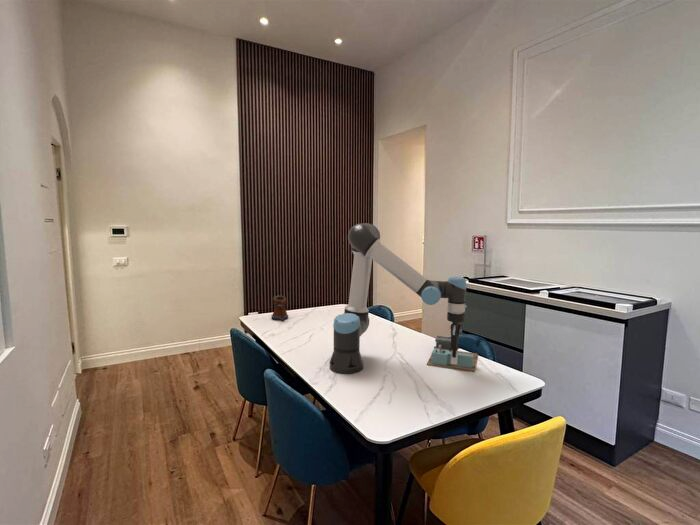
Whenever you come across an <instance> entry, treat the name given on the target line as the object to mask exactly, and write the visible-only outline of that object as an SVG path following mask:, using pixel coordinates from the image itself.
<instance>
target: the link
mask: <svg viewBox="0 0 700 525" xmlns="http://www.w3.org/2000/svg"><path fill="white" fill-rule="evenodd" d="M431 355H432V358H431V363H432V364H439V365H446V366H447V364H449V365H456V366H463V367H470V368H472V367H473V354H465V353H458V360H457V364H451V352H450V351H449V350H444V349H442V353H437V349H436V348H434V347H433V350H432V352H431Z"/></svg>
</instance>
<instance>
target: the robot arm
mask: <svg viewBox="0 0 700 525" xmlns="http://www.w3.org/2000/svg"><path fill="white" fill-rule="evenodd" d="M347 240H348V243H349V245H350V246H351V253H352V254H353V264H352V269H351V270H352V271H351V280H350V287H349V288H350V290H349V296H348V304H346V305H345V306H344V312H343V313H342V314H338V315H336V316H335V317H334V319H333V324H332V325H333V326H332V327H333V351H332V355H331V358H330V360H329V369H330V371H332V372H333V373H334V372H335V373H338V374H346V375H347V374H356V373H359V372H361V371H363V369H364V361H363V357H362V355H361V350H360V340H361V339H360V338H361V336H362V335H363V334H364V333H366V332H367V330H368V329H369V326H370V318H369V317H370V316H369V312H370V309H369V308H368V307H367V305H368V304H367V303H368V295H369V288H370V287H369V286H370V280H371V271H372V264H373V261H374V262H375V263H377V264H378V265H379V266H381V267H382V268H383V269H385V270H386V271H387V272H389V274H391V275H392V276H393V277H394V278H396V279H397V280H398V281H399V282H401V283H402V284H404V285H405V286H406V287H407V288H409V289H410V290H411V291H412V292H414V293H415V294H417V296H419V297H420V298H421V300H422V301H423V302H424V303H425V304H426V305H429V306H433V305H436V304H438V302H439V301H440V300H441V299H447V307H446V308H447V312H446V313H447V314H446V319H447V321H448V322H451V324H450V327H449V328H450V337H451V348H450V350H451V364H457V360H458V351H459V350H460V347H459V343H460V342H459V341H460V340H459V339H460V334H461V333H460V332H461V331H460V330H461V324H460V323H464V322H465V321H466V320H465V319H466V317H465V316H466V313H465V312H466V308H467V306H468V305H467V304H466V300H467V298H466V297H467V296H466V294H467V280H466V278H464V277H461V276H450V277H448V280H446V281H445V280H443V281H442V280H430V279H428V278H426V277H425V276H424V275H422V274H421V273H420V272H418V271H417V270H416V269H415V268H413V267H412V266H411V265H409V264H408V263H407V262H406V261H404V260H403V259H402V258H400V257H399V256H398V255H397V254H395V253H394V252H392V250H391V249H389V248H388V247H386V245H383V244H382V243H381V233H380V230H379V228H378V227H376V226H375V225H374V224H373V223H366V222H365V223H357V224H354V225H353V226H352V227H350V229H349V231H348V234H347Z"/></svg>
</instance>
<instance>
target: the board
mask: <svg viewBox="0 0 700 525" xmlns="http://www.w3.org/2000/svg"><path fill="white" fill-rule="evenodd" d="M458 353H465V354H473V367H472V368H470V367H463V366H456V365H449V364H447V366H446V365H439V364H432V363H431V358H432V354H431V355H430V357H429V359H428V361H427V362H426V366H431V367H436V368H442V369H443V368H444V369H451V370H458V371H465V372H472V373H475V372H476V365H477V360H478V353H477V352H468V351H460V350H458Z"/></svg>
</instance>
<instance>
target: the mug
mask: <svg viewBox="0 0 700 525" xmlns="http://www.w3.org/2000/svg"><path fill="white" fill-rule="evenodd" d="M272 300H273V306H274V307H273V308H274V310H273V313H272V315H271V317H270V318H271V320H273V321H280V322H284V321H286V320H288V318H289V314H288V312H287V309H286V304H287V297H286V296H284V295H279V294H278V295H275V296H273V298H272Z"/></svg>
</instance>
